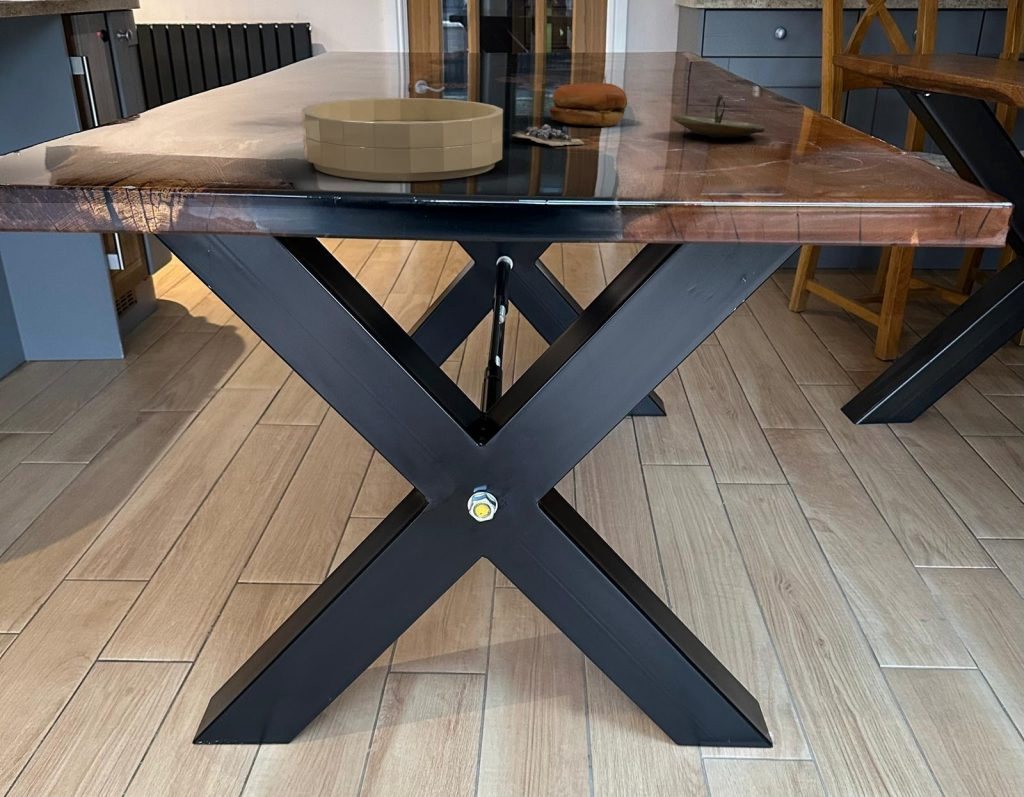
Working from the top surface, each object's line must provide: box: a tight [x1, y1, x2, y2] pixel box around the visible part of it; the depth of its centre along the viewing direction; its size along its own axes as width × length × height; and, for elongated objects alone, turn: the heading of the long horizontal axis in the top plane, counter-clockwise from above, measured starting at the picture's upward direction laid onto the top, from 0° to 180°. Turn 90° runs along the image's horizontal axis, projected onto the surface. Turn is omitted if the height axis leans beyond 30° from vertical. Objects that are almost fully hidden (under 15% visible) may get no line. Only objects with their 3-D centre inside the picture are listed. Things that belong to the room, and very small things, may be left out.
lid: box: [671, 94, 766, 139], centre depth 108 cm, size 11×10×5 cm
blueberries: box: [511, 124, 585, 147], centre depth 104 cm, size 7×8×2 cm
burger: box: [549, 82, 628, 127], centre depth 118 cm, size 10×9×5 cm
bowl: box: [300, 97, 504, 182], centre depth 89 cm, size 18×18×5 cm
